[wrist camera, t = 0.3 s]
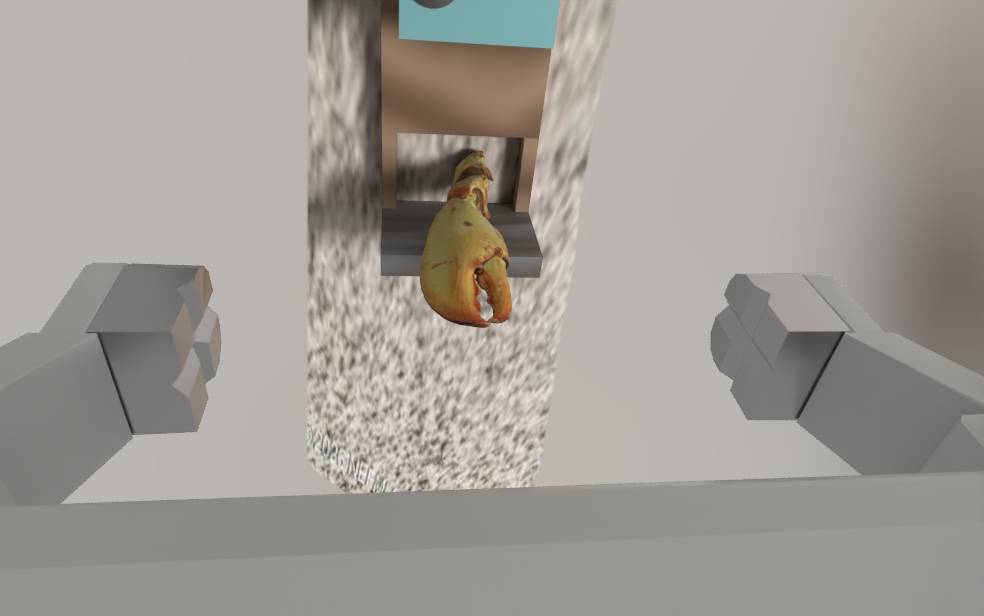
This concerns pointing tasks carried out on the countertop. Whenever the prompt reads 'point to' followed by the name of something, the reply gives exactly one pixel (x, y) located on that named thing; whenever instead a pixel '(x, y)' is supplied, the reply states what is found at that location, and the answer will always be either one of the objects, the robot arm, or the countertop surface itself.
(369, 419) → the countertop surface
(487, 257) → the crab claw
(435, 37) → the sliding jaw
